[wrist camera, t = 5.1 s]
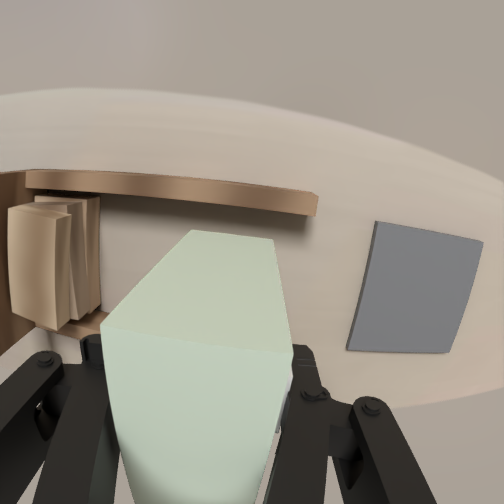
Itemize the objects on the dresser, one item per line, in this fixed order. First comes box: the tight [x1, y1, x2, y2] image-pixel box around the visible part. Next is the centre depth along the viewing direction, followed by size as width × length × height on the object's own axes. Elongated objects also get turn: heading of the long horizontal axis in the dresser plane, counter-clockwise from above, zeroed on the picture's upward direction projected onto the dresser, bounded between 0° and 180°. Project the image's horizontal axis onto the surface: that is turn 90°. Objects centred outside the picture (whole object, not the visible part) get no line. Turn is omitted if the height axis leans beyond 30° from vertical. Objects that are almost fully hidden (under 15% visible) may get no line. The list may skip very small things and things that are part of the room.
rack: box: [0, 169, 318, 356], centre depth 18 cm, size 22×12×10 cm, turn 83°
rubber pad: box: [346, 221, 484, 353], centre depth 23 cm, size 10×10×1 cm
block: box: [100, 229, 294, 504], centre depth 12 cm, size 4×8×10 cm, turn 173°
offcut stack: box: [8, 193, 101, 331], centre depth 20 cm, size 5×9×6 cm, turn 173°
